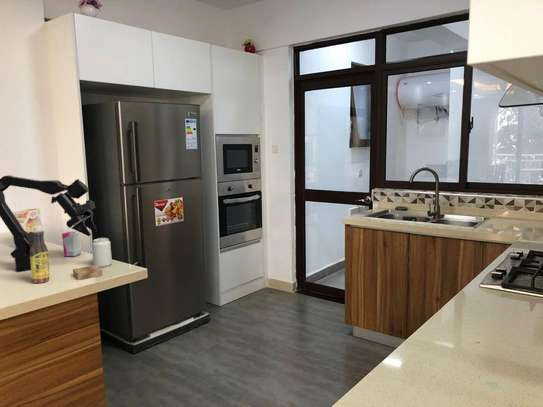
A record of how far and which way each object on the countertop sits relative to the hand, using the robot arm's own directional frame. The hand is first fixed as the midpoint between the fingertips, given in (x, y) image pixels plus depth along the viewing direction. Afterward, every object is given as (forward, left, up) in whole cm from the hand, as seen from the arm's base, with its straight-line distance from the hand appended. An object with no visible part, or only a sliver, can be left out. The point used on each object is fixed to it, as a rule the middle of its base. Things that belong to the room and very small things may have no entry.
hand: (93, 233), depth 185 cm
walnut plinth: (-7, -14, -14) cm, 21 cm away
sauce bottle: (-23, -11, -14) cm, 29 cm away
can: (+2, -3, -14) cm, 15 cm away
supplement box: (-4, +27, -14) cm, 31 cm away
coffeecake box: (-17, +69, -15) cm, 72 cm away
